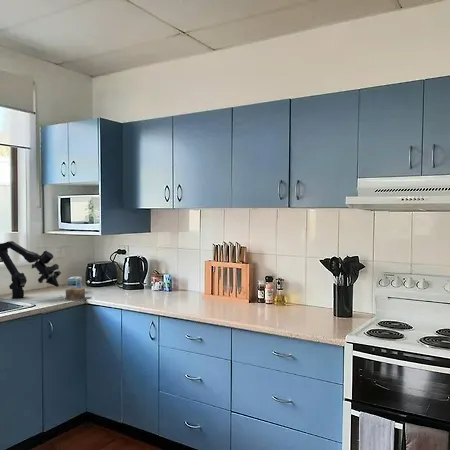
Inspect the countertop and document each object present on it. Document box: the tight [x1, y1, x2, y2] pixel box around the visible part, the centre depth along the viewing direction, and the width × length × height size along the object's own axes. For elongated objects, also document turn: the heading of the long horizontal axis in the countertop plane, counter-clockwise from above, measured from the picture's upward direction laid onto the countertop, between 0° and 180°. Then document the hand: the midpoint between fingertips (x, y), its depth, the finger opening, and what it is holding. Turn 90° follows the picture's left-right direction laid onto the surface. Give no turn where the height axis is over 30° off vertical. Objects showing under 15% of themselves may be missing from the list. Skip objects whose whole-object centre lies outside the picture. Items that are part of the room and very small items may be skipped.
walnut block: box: [65, 287, 86, 300], centre depth 292 cm, size 6×6×10 cm
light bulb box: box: [67, 276, 83, 289], centre depth 314 cm, size 11×7×11 cm, turn 179°
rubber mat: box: [65, 296, 92, 302], centre depth 292 cm, size 12×12×1 cm
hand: (58, 286), depth 294 cm, fingers closed
